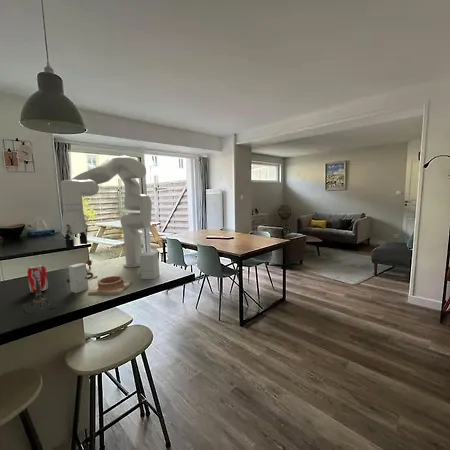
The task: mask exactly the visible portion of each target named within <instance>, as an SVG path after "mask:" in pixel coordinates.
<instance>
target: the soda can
mask: <svg viewBox="0 0 450 450" xmlns="http://www.w3.org/2000/svg"><path fill="white" fill-rule="evenodd" d="M36 277H37V278H38V284H39V288H40V291H44V290H45V291H47V290H49V281H48V273H47V269H46V266H45V264H42V263H38V264H33V265H30V266H29V265H28V269H27V280H28V286H29V287H28V288H29V290H30V293H33V292H36V279H35V278H36ZM45 291H44V292H45Z"/></svg>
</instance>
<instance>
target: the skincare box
mask: <svg viewBox="0 0 450 450" xmlns="http://www.w3.org/2000/svg"><path fill="white" fill-rule="evenodd" d="M87 271H88V268H87V263H85V262H84V263H83V262H80V263H75V264H72V265H68V274H69V276H70V281H69V283H70V285H69V286H70V291H71V293H74V294H78V293H80V292H83V291H86V290H89V279H87V277H88V275H87ZM69 276H68V277H69Z"/></svg>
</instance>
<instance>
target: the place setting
mask: <svg viewBox="0 0 450 450" xmlns="http://www.w3.org/2000/svg"><path fill="white" fill-rule="evenodd" d="M92 263H93V261H92V260H91V259H89V260H86V266H88V270H89V271H90V272H89V271H88V270H87V279H88V280H89V281H92V280H94V279H97V278H98V276H97V275H96V276H94V273H93V272H91V270H92V267H91V266H92V265H93V264H92ZM93 276H94V277H93ZM67 281H68V282H70V276H68V277H67Z"/></svg>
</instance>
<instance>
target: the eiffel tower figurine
mask: <svg viewBox="0 0 450 450" xmlns="http://www.w3.org/2000/svg"><path fill="white" fill-rule="evenodd" d="M35 279H36V293H35V297H34V299H33V302H32V303H31V305H30V307H33V306H34V305H35V304H37V303H39V305H40V307H43V304H42V303H46V302H47V303H49V302H50V301H49V300H48V299H47V298H46V297H45V296H44V295H43V294H42V292H41V291H40V288H39V284H38V278H37V277H36V278H35Z"/></svg>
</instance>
